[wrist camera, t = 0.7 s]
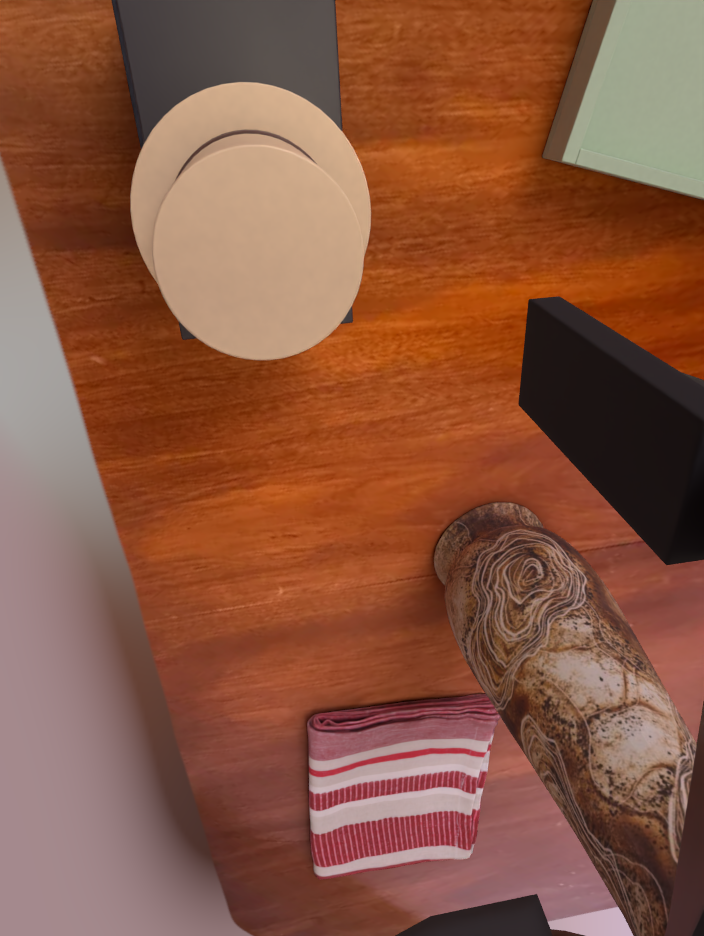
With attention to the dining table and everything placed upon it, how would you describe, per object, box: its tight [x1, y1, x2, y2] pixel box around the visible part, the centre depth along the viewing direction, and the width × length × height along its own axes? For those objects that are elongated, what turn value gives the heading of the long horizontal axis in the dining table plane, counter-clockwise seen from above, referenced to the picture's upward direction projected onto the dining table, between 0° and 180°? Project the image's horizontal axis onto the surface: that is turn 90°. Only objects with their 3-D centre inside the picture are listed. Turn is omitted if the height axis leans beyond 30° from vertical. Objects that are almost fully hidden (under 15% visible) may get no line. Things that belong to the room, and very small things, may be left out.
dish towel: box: [307, 694, 500, 879], centre depth 61 cm, size 17×23×3 cm
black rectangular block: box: [112, 0, 353, 340], centre depth 30 cm, size 14×8×8 cm, turn 3°
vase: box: [434, 502, 697, 936], centre depth 37 cm, size 10×11×30 cm
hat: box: [130, 82, 371, 360], centre depth 24 cm, size 10×10×9 cm
